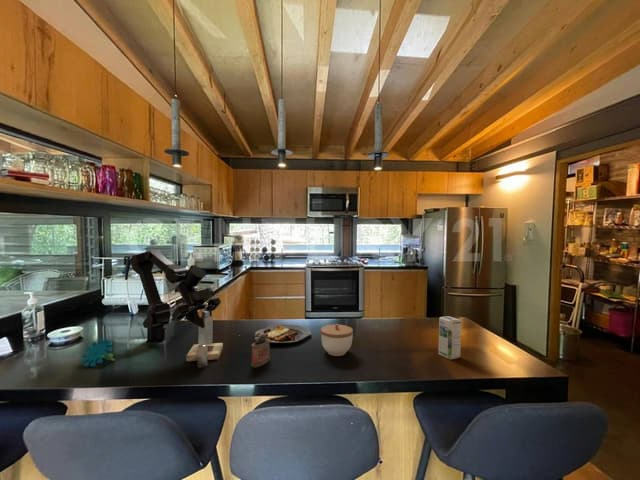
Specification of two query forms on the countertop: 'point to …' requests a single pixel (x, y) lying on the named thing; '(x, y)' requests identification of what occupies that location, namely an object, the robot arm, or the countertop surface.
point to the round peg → (202, 355)
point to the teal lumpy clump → (97, 353)
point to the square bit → (206, 329)
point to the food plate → (283, 333)
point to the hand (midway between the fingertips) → (207, 326)
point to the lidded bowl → (336, 339)
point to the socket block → (212, 354)
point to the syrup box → (449, 337)
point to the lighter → (260, 350)
